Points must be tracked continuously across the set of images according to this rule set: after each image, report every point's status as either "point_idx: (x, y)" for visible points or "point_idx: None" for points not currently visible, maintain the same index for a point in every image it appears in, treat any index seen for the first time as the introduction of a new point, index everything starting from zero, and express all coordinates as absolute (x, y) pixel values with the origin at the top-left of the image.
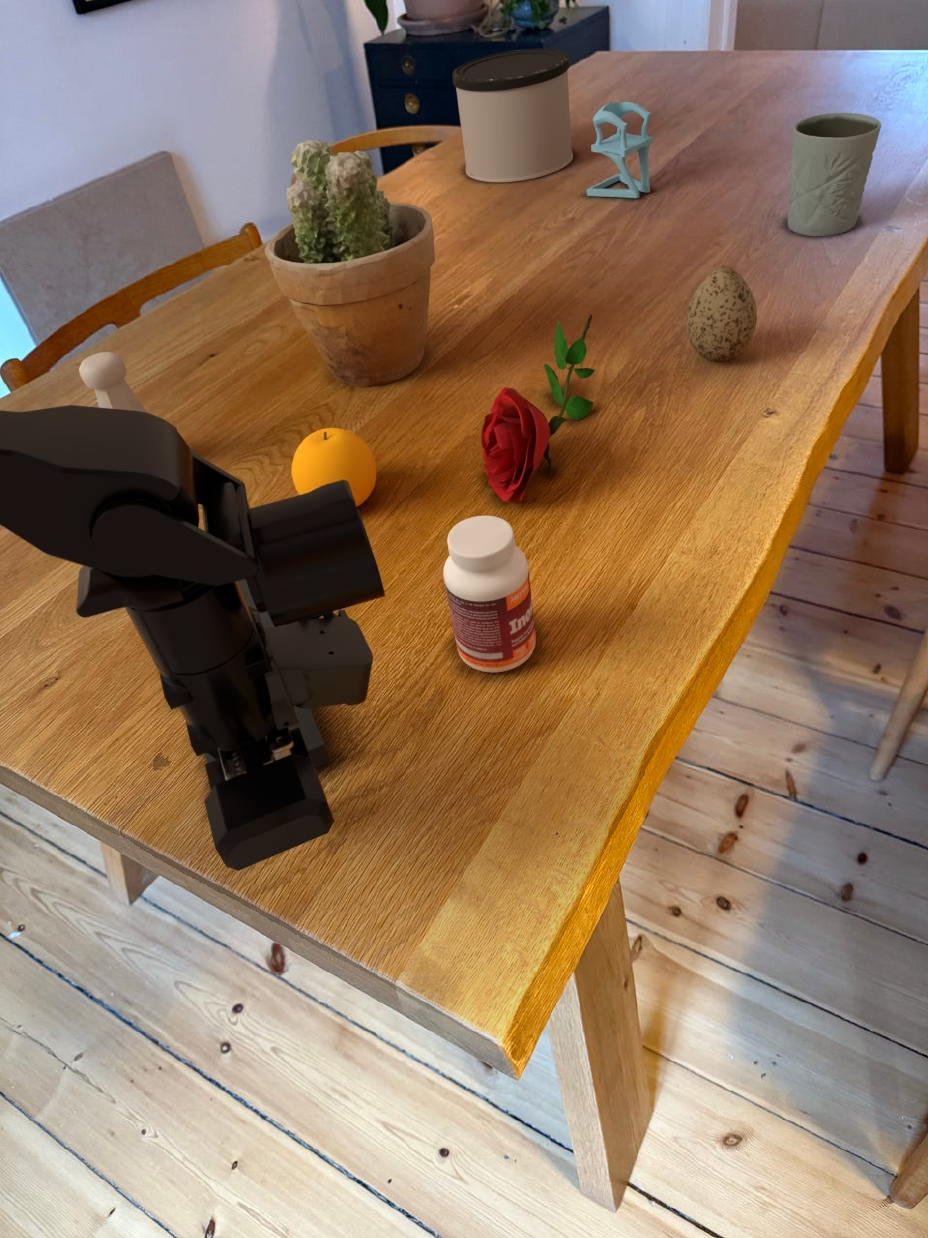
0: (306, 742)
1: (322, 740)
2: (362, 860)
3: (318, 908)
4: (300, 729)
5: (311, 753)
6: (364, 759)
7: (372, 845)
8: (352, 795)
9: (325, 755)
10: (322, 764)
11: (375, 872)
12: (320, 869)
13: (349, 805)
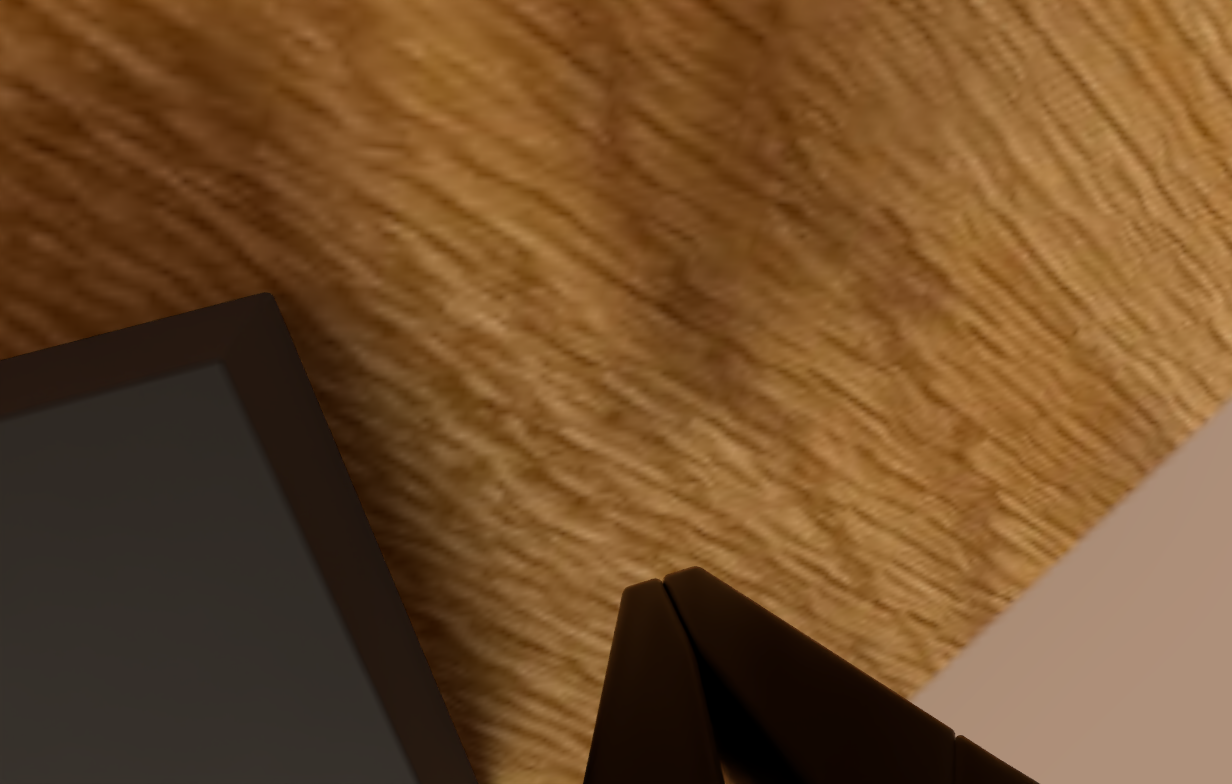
0: (182, 507)
1: (168, 376)
2: (1049, 125)
3: (1173, 359)
4: (12, 563)
5: (286, 454)
6: (279, 31)
7: (988, 53)
8: (594, 153)
9: (263, 338)
10: (293, 351)
11: (1148, 54)
12: (998, 353)
13: (666, 179)
